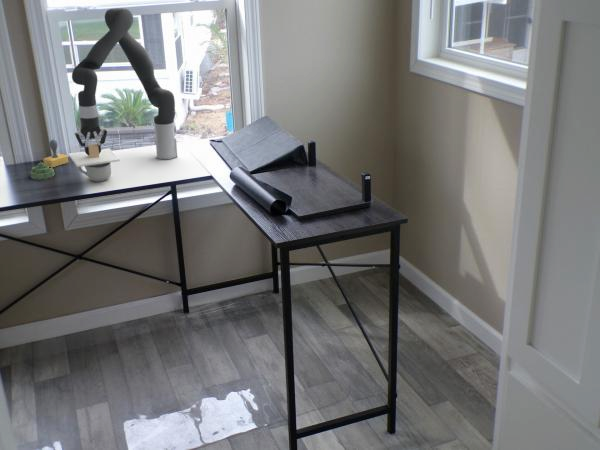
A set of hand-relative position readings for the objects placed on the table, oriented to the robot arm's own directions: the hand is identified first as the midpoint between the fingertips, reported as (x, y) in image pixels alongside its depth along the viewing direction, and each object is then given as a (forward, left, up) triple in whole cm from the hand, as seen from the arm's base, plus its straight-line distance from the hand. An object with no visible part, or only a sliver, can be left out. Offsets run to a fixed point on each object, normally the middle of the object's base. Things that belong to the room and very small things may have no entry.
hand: (93, 153), depth 293 cm
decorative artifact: (+20, -15, -12) cm, 28 cm away
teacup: (0, 0, -12) cm, 12 cm away
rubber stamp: (+12, -30, -12) cm, 35 cm away
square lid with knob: (0, 0, -2) cm, 2 cm away
